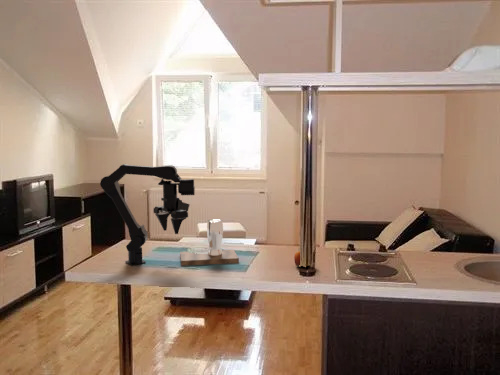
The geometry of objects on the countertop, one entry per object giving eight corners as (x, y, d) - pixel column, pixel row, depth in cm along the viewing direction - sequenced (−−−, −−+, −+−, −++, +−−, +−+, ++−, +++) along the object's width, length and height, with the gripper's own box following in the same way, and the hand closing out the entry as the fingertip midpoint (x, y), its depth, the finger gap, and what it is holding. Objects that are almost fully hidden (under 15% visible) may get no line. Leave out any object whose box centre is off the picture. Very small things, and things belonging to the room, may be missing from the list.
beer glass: (224, 256, 205) (224, 221, 203) (208, 257, 203) (207, 222, 201) (221, 252, 211) (221, 218, 210) (206, 253, 210) (205, 219, 208)
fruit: (290, 266, 192) (293, 247, 195) (294, 271, 198) (297, 253, 201) (309, 268, 189) (312, 249, 192) (313, 273, 195) (316, 255, 198)
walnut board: (181, 265, 197) (181, 260, 197) (180, 256, 212) (180, 251, 212) (238, 262, 202) (238, 258, 201) (233, 253, 216) (233, 249, 216)
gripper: (198, 196, 197) (199, 233, 199) (174, 191, 211) (175, 226, 213) (175, 198, 190) (176, 237, 192) (152, 193, 204) (153, 229, 206)
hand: (170, 232), depth 201 cm, fingers open, 9 cm apart
